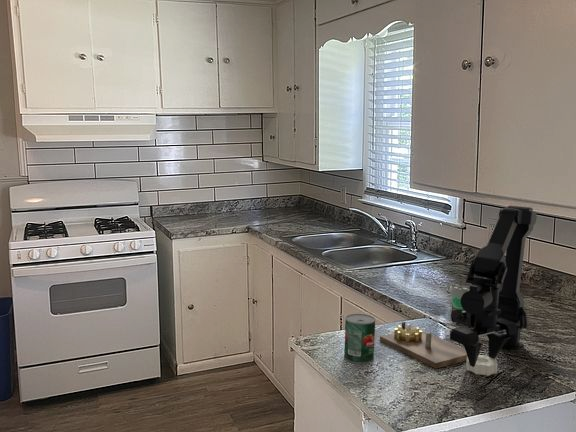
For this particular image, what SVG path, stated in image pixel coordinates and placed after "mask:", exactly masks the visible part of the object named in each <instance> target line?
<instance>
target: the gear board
mask: <svg viewBox="0 0 576 432" xmlns="http://www.w3.org/2000/svg"><path fill="white" fill-rule="evenodd" d="M419 331H422V339H419V341H418V342H415V341H414V342H405V341H402V340H397V337H394V332H392V333H388V334H384V335H380V336H379V342H381V343H383V344H384V345H388V346H389V347H390V348H393V349H395V350H397V351H399V352H401V353H403V354H405V355H408V356H409V357H411V358H414V359H415V360H417V361H419V362H421V363H424V364H425V365H427V366H430V367H431V368H434V369H435V370H437V369H440V368H443V367H446V366H450V365H454V364H457V363H461V362H465V361H466V360H467V353H466V350H465V348H464V347H462V346H459V345H457V344H455V343H453V342H449V341H448V340H445V339H443V338H441V337H438V336H436V335H434V334H432V332H430V331H425V330H422V329H420V328H419Z"/></svg>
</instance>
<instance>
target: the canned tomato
mask: <svg viewBox="0 0 576 432" xmlns="http://www.w3.org/2000/svg"><path fill="white" fill-rule="evenodd" d="M344 319H345V321H344V322H345V324H344V346H343V347H344V350H343V351H344V354H343V359H344V360H346V362H348V363H351V364H357V365H366V364H369V363H372V362H373V361H374V360H375V357H374V356H375V334H376V333H375V332H376V318H375V317H374V316H372V315H371V314H370V315H369V314H363V313H352V314H347V315H346V316H345V318H344Z"/></svg>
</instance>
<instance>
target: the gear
mask: <svg viewBox="0 0 576 432" xmlns="http://www.w3.org/2000/svg"><path fill="white" fill-rule="evenodd" d="M419 329H420V328H419V327H418V326H417V327H414V326H413V325H412V324H411V323H406V321H401V325H398V326H397V327H394V331H393V333H394V337H397V340H402V341H405V342H414V341H415V342H418V341H419V339H422V331H423V330H422V331H419Z"/></svg>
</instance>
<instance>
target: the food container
mask: <svg viewBox="0 0 576 432" xmlns="http://www.w3.org/2000/svg"><path fill="white" fill-rule="evenodd" d="M469 289H470V287H462V286H456V285H454V282H452V283H451V284H450V286H449V293H450V296H451V298H450V299H451V311H452V310H456V309H457V310H458V309H461V311H465V310H464V309H463V308H462V306H461V297H462V295H463V294H464V293H465V292H467V291H468V290H469Z"/></svg>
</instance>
